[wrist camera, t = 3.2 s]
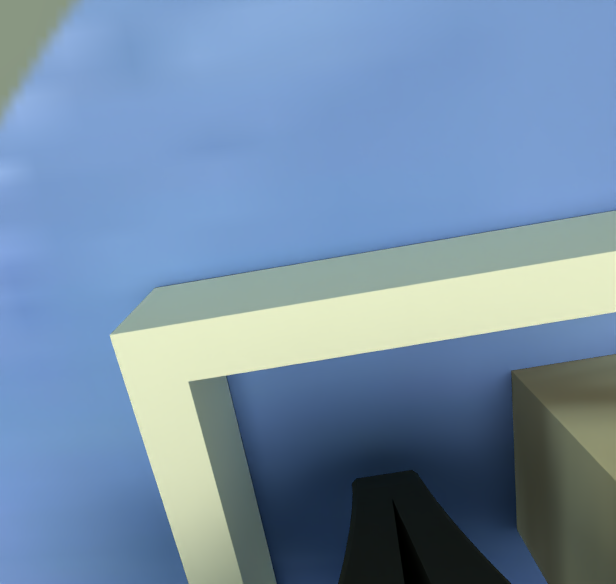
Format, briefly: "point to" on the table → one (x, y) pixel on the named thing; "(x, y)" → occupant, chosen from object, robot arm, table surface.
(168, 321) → the u-shaped bracket
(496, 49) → the table surface
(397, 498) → the robot arm
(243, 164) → the table surface
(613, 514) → the block
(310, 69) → the table surface
